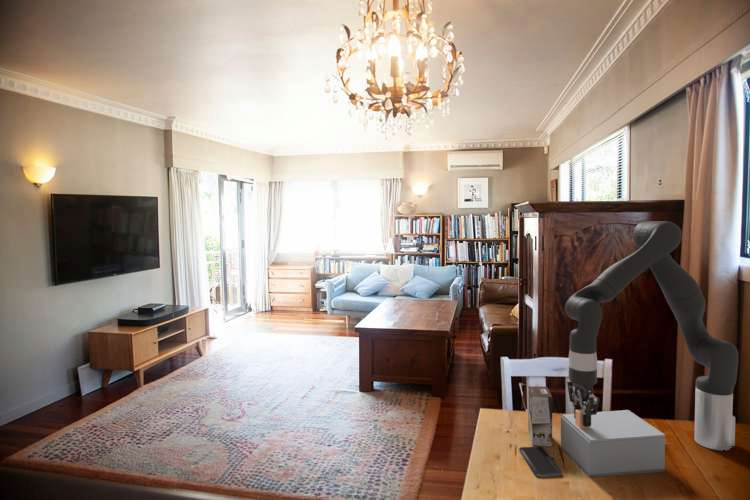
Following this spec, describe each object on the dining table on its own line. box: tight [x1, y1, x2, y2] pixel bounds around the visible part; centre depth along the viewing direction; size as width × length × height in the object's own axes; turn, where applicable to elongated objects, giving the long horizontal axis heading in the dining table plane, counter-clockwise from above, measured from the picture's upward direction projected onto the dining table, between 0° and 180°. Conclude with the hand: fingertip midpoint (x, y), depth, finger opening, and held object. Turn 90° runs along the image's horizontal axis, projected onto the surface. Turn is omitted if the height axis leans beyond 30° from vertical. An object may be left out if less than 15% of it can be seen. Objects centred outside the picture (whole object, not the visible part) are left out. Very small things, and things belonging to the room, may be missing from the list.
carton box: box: [560, 416, 666, 478], centre depth 132 cm, size 22×16×10 cm
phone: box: [518, 446, 563, 479], centre depth 132 cm, size 8×1×15 cm
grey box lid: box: [561, 409, 666, 442], centre depth 131 cm, size 22×16×5 cm
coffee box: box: [527, 385, 553, 447], centre depth 144 cm, size 9×6×16 cm
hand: (582, 422), depth 131 cm, fingers open, 4 cm apart
